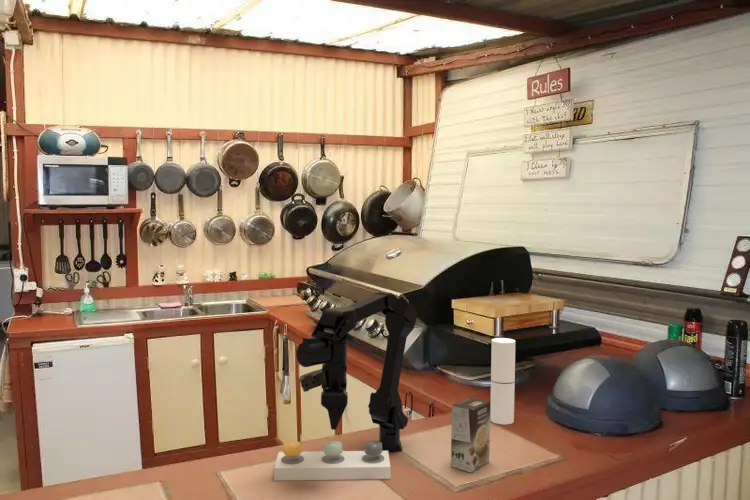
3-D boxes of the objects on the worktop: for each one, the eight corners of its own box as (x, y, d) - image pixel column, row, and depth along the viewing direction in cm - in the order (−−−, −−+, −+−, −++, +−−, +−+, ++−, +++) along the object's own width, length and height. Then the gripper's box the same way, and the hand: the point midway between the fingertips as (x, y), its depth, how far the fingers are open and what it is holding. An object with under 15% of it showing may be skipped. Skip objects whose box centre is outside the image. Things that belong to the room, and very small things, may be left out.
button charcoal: (364, 449, 156) (364, 440, 156) (381, 449, 157) (381, 440, 156) (364, 456, 152) (364, 447, 152) (382, 456, 152) (382, 447, 152)
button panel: (278, 463, 159) (278, 451, 158) (388, 461, 160) (388, 449, 159) (274, 480, 149) (273, 467, 148) (390, 479, 150) (390, 466, 150)
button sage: (324, 450, 156) (324, 441, 156) (342, 450, 156) (342, 440, 156) (323, 457, 152) (323, 447, 151) (341, 457, 152) (341, 447, 152)
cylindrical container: (487, 422, 190) (488, 341, 188) (494, 415, 196) (495, 337, 194) (510, 425, 186) (511, 343, 184) (516, 418, 193) (518, 339, 191)
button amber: (284, 450, 156) (284, 441, 155) (302, 450, 156) (302, 441, 156) (282, 457, 151) (282, 448, 151) (300, 457, 151) (300, 448, 151)
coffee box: (472, 473, 153) (473, 410, 152) (450, 466, 157) (450, 404, 156) (490, 462, 160) (491, 401, 159) (468, 455, 164) (469, 396, 163)
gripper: (304, 352, 161) (303, 411, 162) (299, 369, 142) (298, 436, 143) (347, 352, 162) (345, 411, 162) (348, 369, 143) (346, 436, 144)
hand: (333, 423), depth 153 cm, fingers open, 9 cm apart
